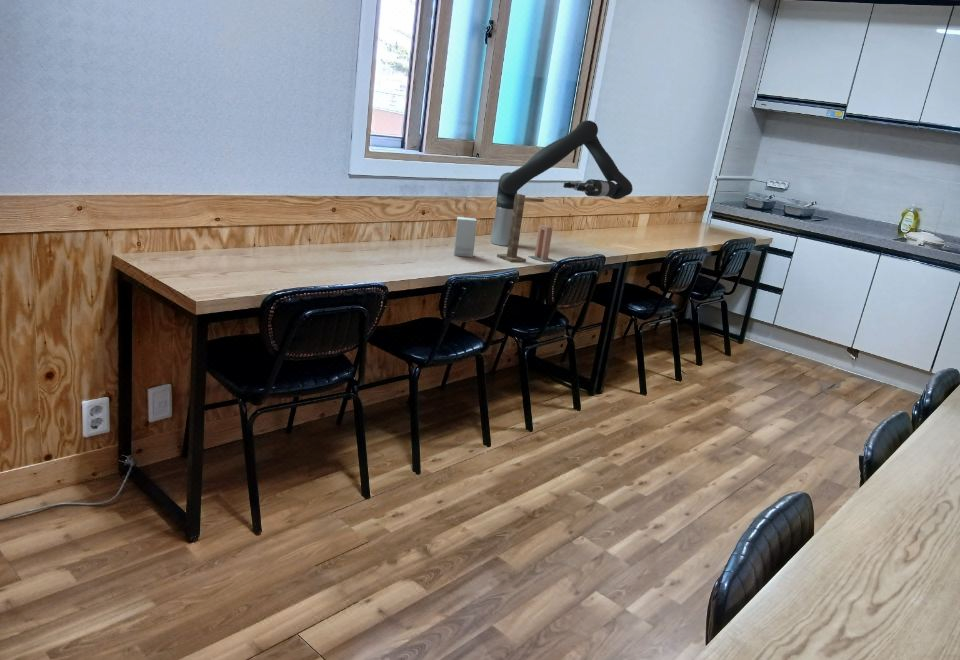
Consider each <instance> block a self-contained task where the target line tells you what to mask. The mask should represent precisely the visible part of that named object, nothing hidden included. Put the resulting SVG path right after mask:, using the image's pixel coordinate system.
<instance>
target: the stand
mask: <svg viewBox="0 0 960 660" xmlns="http://www.w3.org/2000/svg"><path fill="white" fill-rule="evenodd" d="M525 202H531V203H532V202H533V203H544V202H545V199H544V198H531V197H530V198H529V197H528V198H527V197H526V194H522V193H517V194H515V200H514V207H513V214H512V221H511V229H510V236H509V243H508V246H507V252H506V253H496V258H499V259H502V260H505V261H507V262H509V263H521V262H522V263H527V258H525V257H521V256H519V255H518V249H519V242H520V236H521V228H522V222H523V215H524V208H525Z"/></svg>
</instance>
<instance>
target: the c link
mask: <svg viewBox="0 0 960 660" xmlns="http://www.w3.org/2000/svg"><path fill="white" fill-rule="evenodd" d="M553 229H554V228H553V227H552V226H548V225H544V224H540V225H538V230H537V231H538V232H537V239H536V246H535V250H534V256H535V257H541V259H548V258H549V254H550V248H551V241H552V236H553Z"/></svg>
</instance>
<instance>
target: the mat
mask: <svg viewBox="0 0 960 660" xmlns="http://www.w3.org/2000/svg"><path fill="white" fill-rule="evenodd" d="M527 257H528V258H531V259H532V260H535V261H539V262H542V263H557V262H558V261H557V260H555V259H553V258H550V257H548V259H541V257H535V255H529V256H527Z"/></svg>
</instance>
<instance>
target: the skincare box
mask: <svg viewBox="0 0 960 660" xmlns="http://www.w3.org/2000/svg"><path fill="white" fill-rule="evenodd" d="M477 222H478V220H477V218H473V217H472V218H471V217H462V216H457V218H456V226H455V238H454V249H453V255H454V257H455V256H457V257H466V258H467V257H468V258H474V250H475V242H476V233H477Z"/></svg>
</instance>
